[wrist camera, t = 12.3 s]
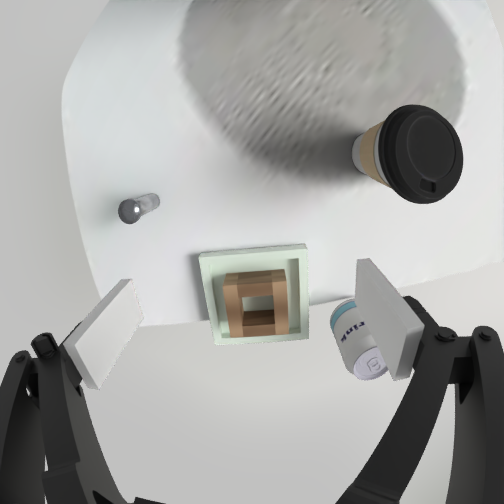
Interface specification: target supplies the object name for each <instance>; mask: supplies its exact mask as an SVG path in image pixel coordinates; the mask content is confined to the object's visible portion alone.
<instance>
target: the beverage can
mask: <svg viewBox="0 0 504 504" xmlns="http://www.w3.org/2000/svg"><path fill="white" fill-rule="evenodd" d="M330 325H331V329H332V331H333V334H334V337H335V339H336V342H337V345H338V347H339V350H340V353H341V355H342V358H343V361H344V364H345V366H346V368H347V370H348V371H349V372H350V373H352V374H354V375H355V376H356V377H357V378H358V379H361V380H372V379H376V378H378V377H380V376H382V375H383V374H385V373H386V372H387V371H388V368H387V366H386V364H385V362H384V359H383V357H382V355H381V353H380V351H379V349H378V347H377V345H376V343H375V341H374V339H373V337H372V335H371V333H370V331H369V329H368V327H367V325H366V323H365V321H364V319H363V317H362V315H361V313H360V312H359V310H358V308H357V306H356V304H355V299H350V300H347V301H345V302H343V303H341V304H340V305H339V306H338V307H337V308H336V309H335V310H334V311H333V313H332V315H331V319H330Z"/></svg>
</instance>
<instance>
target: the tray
mask: <svg viewBox="0 0 504 504" xmlns="http://www.w3.org/2000/svg"><path fill="white" fill-rule="evenodd" d="M199 263H200V269H201V275H202V281H203V287H204V292H205V297H206V303H207V308H208V313H209V318H210V324H211V328H212V333H213V338H214V343H215V345H227V344H249V343H265V342H279V341H291V340H301V339H308V338H309V284H308V249H307V247H306V245H305V244H301V245H289V246H276V247H264V248H252V249H240V250H228V251H215V252H204V253H201V254H200V256H199ZM277 269H284V270H285V275H286V279H287V295H288V319H289V334H283V335H270V336H255V337H236V338H231V337H230V331H229V325H228V319H227V313H226V306H225V300H224V293H223V287H222V285H223V282H224V279H225V275H226V273H238V272H251V271H264V270H277ZM242 301H243V309H244V311H257V310H271V309H274V303H273V295H269V296H256V297H242Z"/></svg>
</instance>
